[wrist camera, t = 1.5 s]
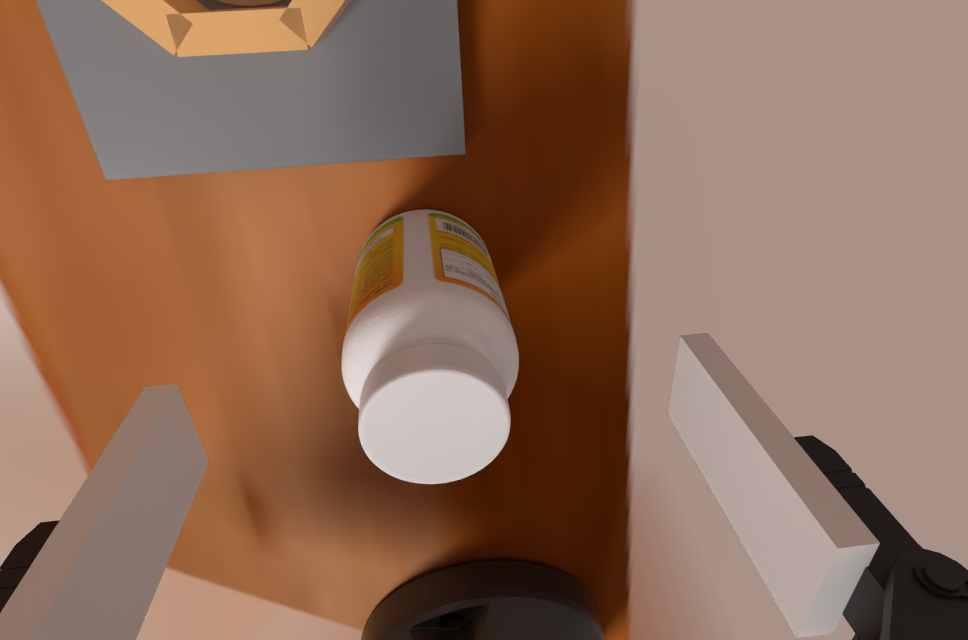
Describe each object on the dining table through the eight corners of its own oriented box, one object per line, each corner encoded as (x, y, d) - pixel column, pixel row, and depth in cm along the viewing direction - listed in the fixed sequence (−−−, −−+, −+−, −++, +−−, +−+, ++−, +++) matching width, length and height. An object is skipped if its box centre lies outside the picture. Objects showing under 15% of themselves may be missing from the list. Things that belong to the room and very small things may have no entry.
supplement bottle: (370, 333, 24) (350, 517, 16) (345, 214, 21) (306, 360, 13) (495, 318, 25) (540, 490, 16) (486, 198, 22) (535, 331, 13)
